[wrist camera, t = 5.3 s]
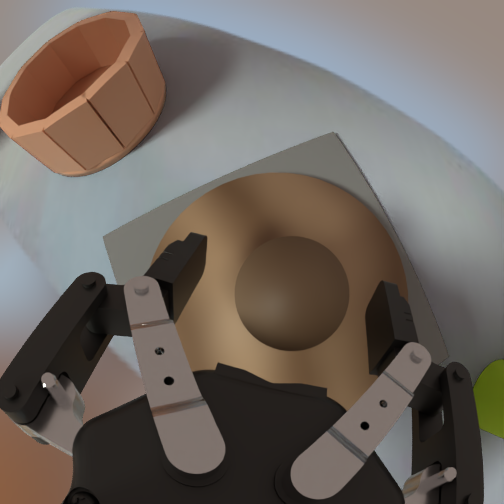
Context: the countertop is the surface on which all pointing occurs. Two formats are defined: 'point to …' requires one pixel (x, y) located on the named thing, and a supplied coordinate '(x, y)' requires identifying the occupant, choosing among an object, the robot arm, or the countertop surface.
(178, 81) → the countertop surface
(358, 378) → the lid
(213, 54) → the countertop surface
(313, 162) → the mat
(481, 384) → the soap dispenser
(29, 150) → the bowl
